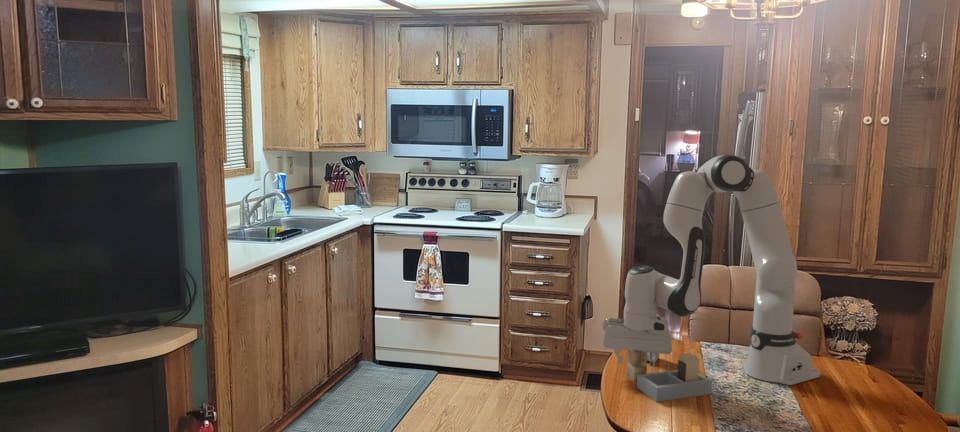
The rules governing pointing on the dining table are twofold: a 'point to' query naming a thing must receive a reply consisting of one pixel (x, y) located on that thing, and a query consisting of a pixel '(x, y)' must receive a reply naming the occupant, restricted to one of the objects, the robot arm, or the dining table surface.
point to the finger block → (636, 364)
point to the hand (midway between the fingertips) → (636, 364)
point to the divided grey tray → (676, 381)
